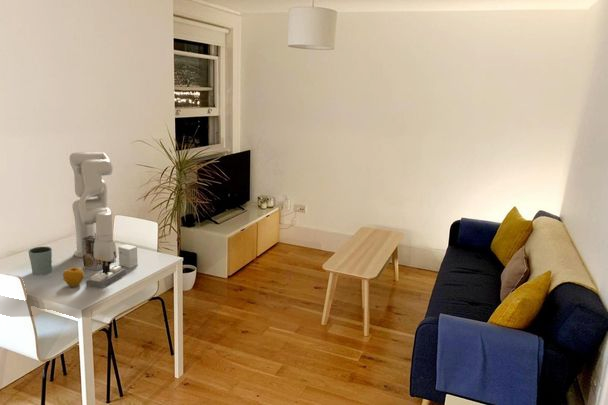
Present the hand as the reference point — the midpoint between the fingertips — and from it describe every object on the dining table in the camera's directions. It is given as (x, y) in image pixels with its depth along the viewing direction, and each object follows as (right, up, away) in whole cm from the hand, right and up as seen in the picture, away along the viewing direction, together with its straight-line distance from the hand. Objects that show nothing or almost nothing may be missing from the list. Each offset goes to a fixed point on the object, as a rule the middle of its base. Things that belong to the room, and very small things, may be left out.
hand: (106, 272), depth 225 cm
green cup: (-35, -1, +5) cm, 35 cm away
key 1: (-1, -4, -5) cm, 7 cm away
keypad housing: (0, -4, +1) cm, 4 cm away
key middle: (0, -4, +1) cm, 4 cm away
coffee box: (-13, 0, +15) cm, 20 cm away
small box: (+3, +1, +20) cm, 21 cm away
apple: (-12, -5, -8) cm, 15 cm away
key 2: (+2, -1, +6) cm, 6 cm away
